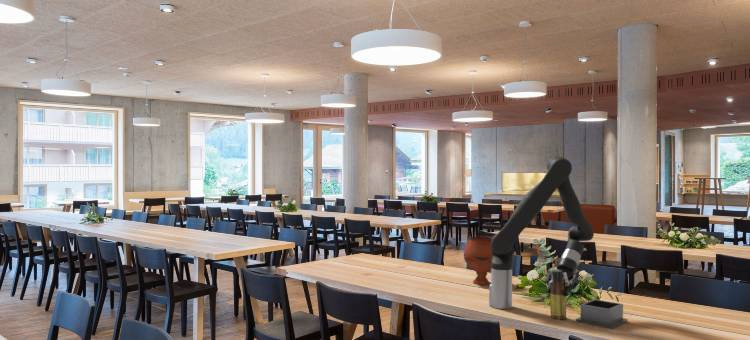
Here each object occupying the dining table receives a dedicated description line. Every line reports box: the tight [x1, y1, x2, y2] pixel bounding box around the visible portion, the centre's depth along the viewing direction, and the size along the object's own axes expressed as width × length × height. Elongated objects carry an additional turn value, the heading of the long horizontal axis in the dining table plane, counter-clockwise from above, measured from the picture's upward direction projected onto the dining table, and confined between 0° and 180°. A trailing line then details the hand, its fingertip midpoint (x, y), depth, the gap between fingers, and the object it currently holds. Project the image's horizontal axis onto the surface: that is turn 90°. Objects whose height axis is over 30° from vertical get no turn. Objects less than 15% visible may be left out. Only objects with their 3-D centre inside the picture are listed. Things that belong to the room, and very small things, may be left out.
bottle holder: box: [575, 298, 629, 329], centre depth 226 cm, size 15×15×7 cm
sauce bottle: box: [549, 269, 567, 321], centre depth 231 cm, size 7×6×20 cm
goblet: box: [463, 235, 494, 285], centre depth 302 cm, size 19×19×25 cm
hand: (556, 293), depth 230 cm, fingers closed on sauce bottle, 6 cm apart
